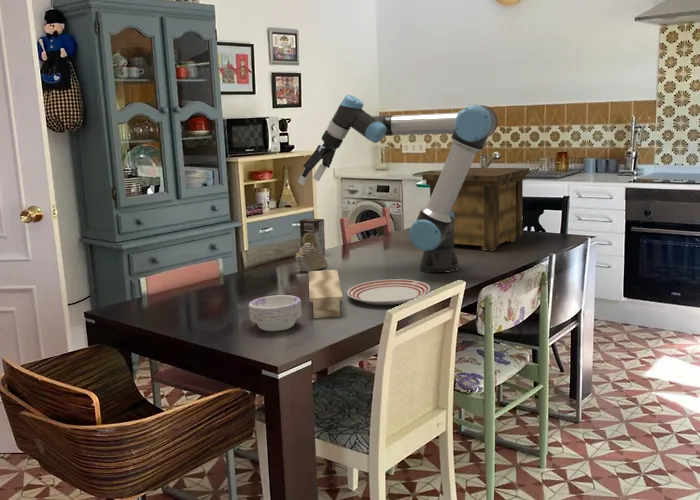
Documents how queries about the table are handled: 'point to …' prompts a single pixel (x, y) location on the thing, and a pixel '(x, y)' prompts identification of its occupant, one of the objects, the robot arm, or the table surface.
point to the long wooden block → (325, 293)
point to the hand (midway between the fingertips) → (308, 181)
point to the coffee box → (313, 233)
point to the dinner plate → (388, 291)
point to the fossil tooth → (310, 258)
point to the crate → (487, 206)
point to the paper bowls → (275, 312)
